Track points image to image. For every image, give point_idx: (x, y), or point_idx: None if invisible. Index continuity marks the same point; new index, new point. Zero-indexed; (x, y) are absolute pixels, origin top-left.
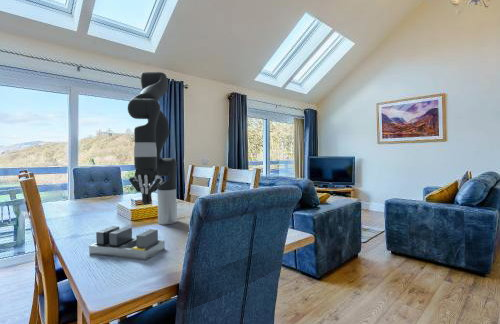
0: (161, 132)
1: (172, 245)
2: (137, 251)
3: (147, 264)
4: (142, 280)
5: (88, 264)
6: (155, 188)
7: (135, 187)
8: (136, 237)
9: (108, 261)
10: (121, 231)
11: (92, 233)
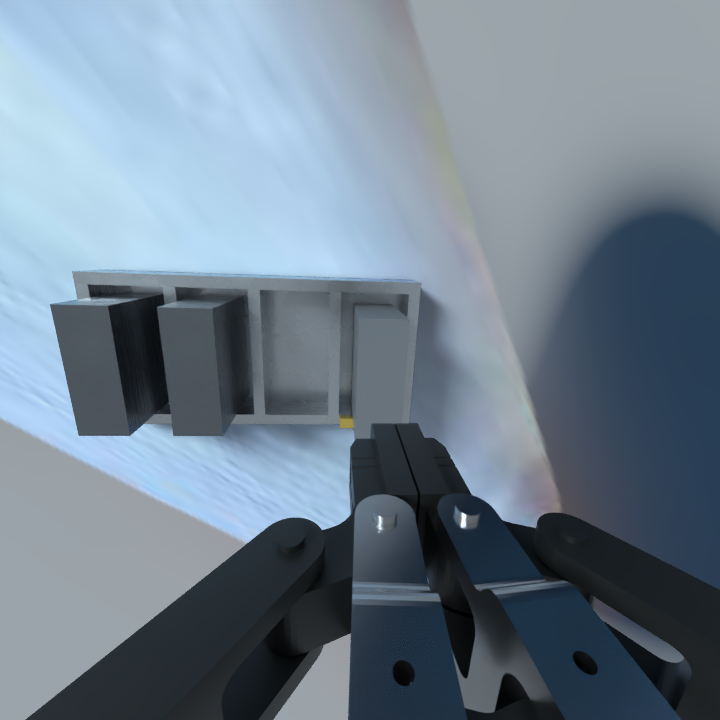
0: None
1: (422, 216)
2: None
3: (422, 432)
4: None
5: (216, 476)
6: (613, 577)
7: (226, 702)
8: (354, 435)
9: (264, 441)
10: (216, 395)
11: None
